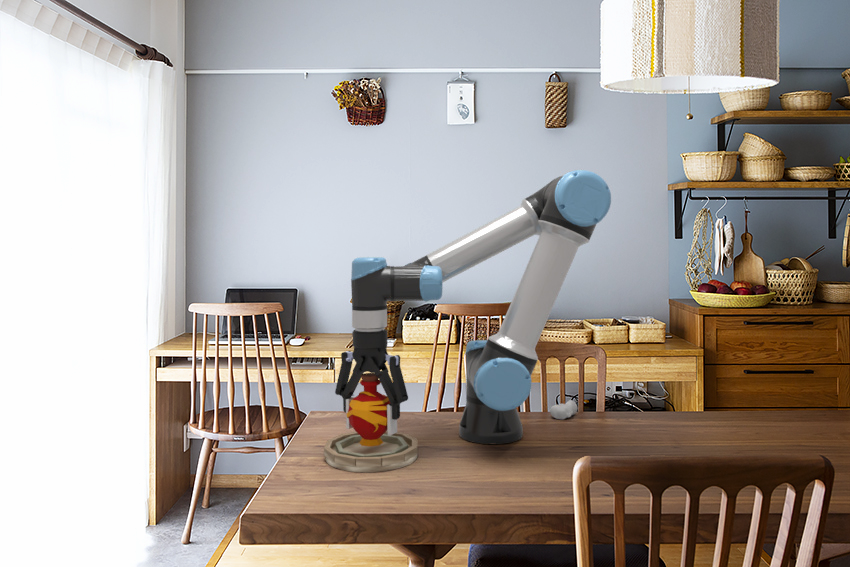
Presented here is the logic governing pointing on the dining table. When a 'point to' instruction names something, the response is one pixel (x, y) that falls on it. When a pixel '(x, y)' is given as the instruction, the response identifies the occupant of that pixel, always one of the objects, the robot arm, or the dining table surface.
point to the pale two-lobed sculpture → (563, 410)
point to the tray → (371, 452)
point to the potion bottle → (369, 412)
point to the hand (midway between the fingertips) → (371, 430)
